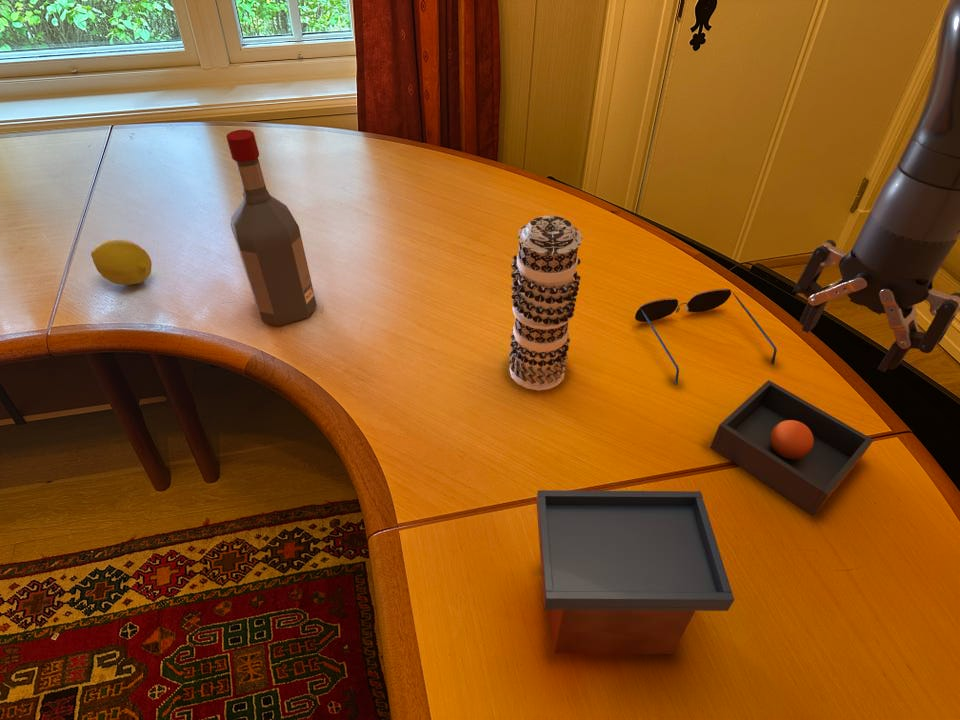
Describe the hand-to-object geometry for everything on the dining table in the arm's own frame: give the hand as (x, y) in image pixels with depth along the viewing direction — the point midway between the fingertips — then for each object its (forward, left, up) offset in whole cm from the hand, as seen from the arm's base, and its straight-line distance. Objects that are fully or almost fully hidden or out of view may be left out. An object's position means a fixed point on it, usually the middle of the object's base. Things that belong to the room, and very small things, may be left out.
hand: (844, 347), depth 67 cm
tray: (+2, +34, -7) cm, 35 cm away
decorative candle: (+33, +13, -19) cm, 41 cm away
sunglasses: (+20, -11, -19) cm, 30 cm away
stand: (+2, +34, -19) cm, 39 cm away
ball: (0, 0, -16) cm, 16 cm away
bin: (0, 0, -19) cm, 19 cm away
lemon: (+98, +51, -19) cm, 112 cm away
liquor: (+72, +34, -19) cm, 82 cm away
